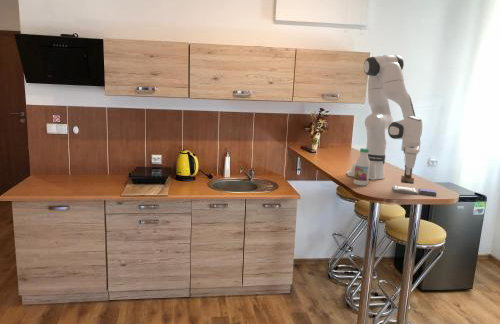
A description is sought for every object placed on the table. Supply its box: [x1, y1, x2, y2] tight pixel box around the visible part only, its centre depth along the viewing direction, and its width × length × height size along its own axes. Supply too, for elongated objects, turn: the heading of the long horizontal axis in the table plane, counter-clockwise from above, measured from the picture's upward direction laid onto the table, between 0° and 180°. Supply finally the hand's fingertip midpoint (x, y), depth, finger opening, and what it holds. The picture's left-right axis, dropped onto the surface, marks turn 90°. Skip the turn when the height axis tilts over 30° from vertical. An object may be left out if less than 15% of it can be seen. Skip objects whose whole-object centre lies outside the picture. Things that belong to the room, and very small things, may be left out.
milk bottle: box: [353, 147, 370, 186], centre depth 218 cm, size 8×8×20 cm
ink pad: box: [417, 187, 437, 197], centre depth 207 cm, size 8×6×2 cm
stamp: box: [400, 164, 415, 185], centre depth 208 cm, size 6×4×11 cm
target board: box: [392, 185, 419, 196], centre depth 210 cm, size 12×10×2 cm
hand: (407, 173), depth 208 cm, fingers closed on stamp, 4 cm apart
